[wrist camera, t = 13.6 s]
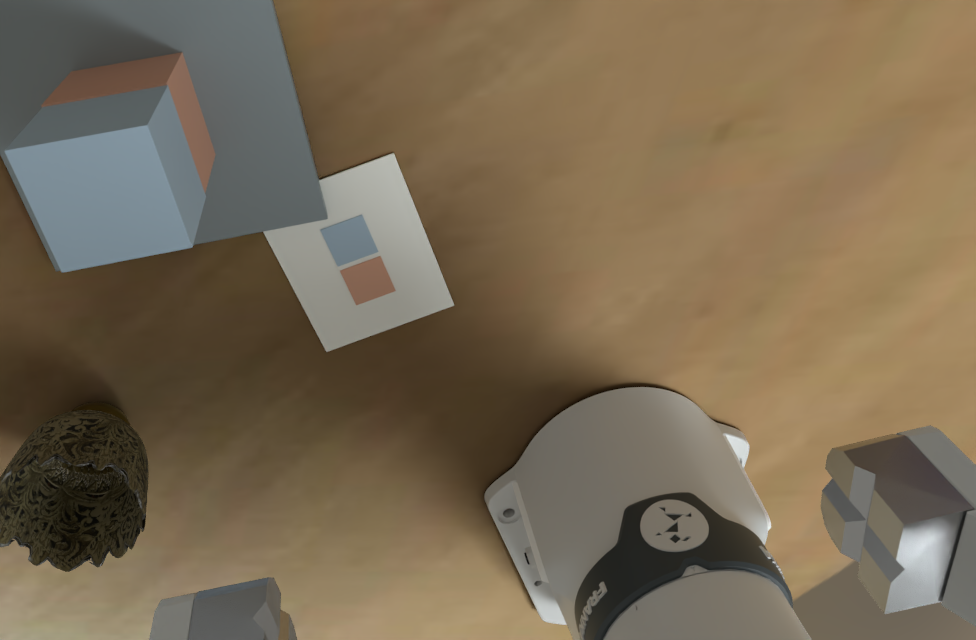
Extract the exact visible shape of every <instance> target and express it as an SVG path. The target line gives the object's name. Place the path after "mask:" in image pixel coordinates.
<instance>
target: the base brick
mask: <svg viewBox="0 0 976 640" xmlns="http://www.w3.org/2000/svg"><path fill="white" fill-rule="evenodd" d="M165 85H168V87H169V90H170V93H171V96H172V98H173V101H174V104H175V107H176V110H177V113H178V116H179V119H180V122H181V125H182V128H183V131H184V134H185V136H186V139H187V142H188V145H189V148H190V151H191V154H192V157H193V160H194V163H195V166H196V169H197V172H198V174H199V177H200V180H201V183H202V186H203V189H204V192H206V188H207V185H208V181H209V177H210V174H211V170H212V166H213V163H214V159H215V155H216V154H215V151H214V148H213V145H212V142H211V139H210V136H209V133H208V129H207V126H206V123H205V120H204V117H203V114H202V111H201V108H200V105H199V102H198V99H197V96H196V93H195V90H194V86H193V83H192V80H191V77H190V74H189V71H188V68H187V65H186V62H185V59H184V56H183V53H182V52H181V53H175V54H169V55H163V56H157V57H152V58H146V59H140V60H134V61H129V62H123V63H117V64H111V65H106V66H100V67H94V68H88V69H83V70H77V71H71V72H70V73H69V74H68V76H67V77H66V78H65V79H64V80H63V81H62V82H61V83H60V85H59V86H58V87H57V88H56V89H55V90H54V91H53V92H52V94H51V95H50V96H49V97H48V98H47V99H46V100H45V101H44V103H43V104H42V105H41V107H46V106H52V105H57V104H63V103H69V102H74V101H80V100H86V99H91V98H97V97H103V96H108V95H114V94H120V93H125V92H131V91H137V90H142V89H148V88H154V87H159V86H165Z"/></svg>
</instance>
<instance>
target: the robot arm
mask: <svg viewBox="0 0 976 640" xmlns="http://www.w3.org/2000/svg"><path fill="white" fill-rule="evenodd" d="M748 453H749V443H748V441H747V439H746V437H745V435H744V434H743V433H742V432H741V431H740V430H738V429H735V428H733V427H730V426H727V425H723V424H720V423H716V422H715V421H713V420H712V419H710V418H709V417H708V416H707V415H706V414H705V413H704V412H703V411H702V410H701V409H700V408H699V407H698V406H697V405H696V404H695V403H693V402H692V401H691V400H689V399H687V398H686V397H684V396H682V395H679V394H677V393H674V392H671V391H668V390H664V389H659V388H651V387H630V388H621V389H616V390H611V391H607V392H603V393H600V394H597V395H594V396H591V397H589V398H587V399H584V400H582V401H580V402H578V403H576V404H574V405H572V406H571V407H569V408H567V409H566V410H564V411H562V412H561V413H560V414H558V415H557V416H555V417H554V418H553V419H552V420H551V421H549V422H548V423H547V424H546V425H545V426H544V427H543V428H542V429H541V430H540V431H539V432H538V433H537V434H536V436H535V437H534V438H533V439H532V441H531V442H530V443H529V445H528V447H527V448H526V450H525V451H524V453H523V455H522V456H521V458H520V459H519V461H518V462H517V463H516V465H515V466H514V467H513V468H512V469H510V470H509V471H507V472H506V473H505V474H504V475H502V476H501V477H500V478H498V479H497V480H496V481H495V482H494V483H492V484H491V485H490V486H489V488H488V489H487V490H486V492H485V495H484V499H485V502H486V504H487V507H488V509H489V511H490V514H491V516H492V518H493V520H494V522H495V524H496V526H497V528H498V530H499V532H500V534H501V537H502V539H503V541H504V543H505V545H506V547H507V549H508V551H509V553H510V555H511V557H512V559H513V562H514V564H515V566H516V568H517V570H518V572H519V574H520V576H521V578H522V580H523V582H524V585H525V587H526V589H527V591H528V593H529V595H530V597H531V599H532V601H533V603H534V605H535V607H536V610H537V612H538V614H539V615H540V617H541V619H542V620H543V621H545V622H548V623H554V624H561V625H567V626H568V629H569V631H570V633H571V635H572V638H573V640H811V638H810V636H809V635H808V634H807V632H806V630H805V629H804V627H803V625H802V624H801V622H800V621H799V619H798V617H797V616H796V614H795V612H794V611H793V602H792V596H791V593H790V590H789V588H788V586H787V585H786V583H785V580H784V576H783V574H782V571H781V569H780V568H779V566H778V564H777V562H776V561H775V559H774V558H773V557H772V555H771V554H770V553H769V552H768V551H767V549H766V548H765V546H764V545H765V543H766V540H767V535H768V530H769V529H770V528H771V522H770V518H769V516H768V514H767V512H766V510H765V508H764V506H763V504H762V502H761V500H760V498H759V496H758V495H757V493H756V491H755V489H754V487H753V485H752V483H751V481H750V479H749V478H748V476H747V474H746V472H745V470H744V466H745V463H746V460H747V457H748ZM825 469H826V470H827V471H828V473H829V474H830V475H831V477H832V480H831V481H830V482H829V483H828V484H827V486H826V487H825V488H824V489H823V490H822V499H821V511H822V515H823V519H824V524H825V527H826V529H827V531H828V533H829V535H830V537H831V539H832V541H833V542H834V544H835V545H836V547H837V548H838V550H839V551H840V553H842V554H844V555H846V556H848V557H850V558H852V559H854V560H856V561H858V562H859V570H858V578H859V579H860V581H861V582H862V584H863V585H864V586H865V588H866V589H867V591H868V592H869V593H870V595H871V596H872V598H873V599H874V600H875V602H876V603H877V605H878V606H879V607H880V609H881V610H882V611H883V613H884V614H887V613H892V612H896V611H900V610H905V609H910V608H915V607H919V606H924V605H928V604H933V603H938V602H942V604H941V605H942V606H944V607H946V608H947V609H949V610H950V611H952V612H954V613H955V614H957V615H958V616H960V617H961V618H963V619H965V620H966V621H968V622H969V623H971V624H973V625H974V626H976V465H975V464H974V463H973V462H972V461H971V460H970V459H969V458H968V457H967V456H966V455H965V454H964V453H963V452H962V451H961V450H960V449H959V448H958V447H957V446H956V445H955V444H954V443H953V442H952V441H951V440H950V439H949V438H947V437H946V436H945V435H944V434H943V433H942V432H941V431H940V430H939V429H937V428H935V427H933V426H926V427H921V428H917V429H913V430H909V431H904V432H900V433H897V434H890V435H886V436H882V437H878V438H874V439H869V440H865V441H861V442H857V443H853V444H849V445H844V446H840V447H836V448H832V450H831V451H830V452H829V454H828V455H827V460H826V467H825ZM509 508H511V509H509ZM506 509H509V510H506ZM280 603H281V593H280V591H279V588H278V586H277V584H276V582H275V580H274V578H271V577H269V578H264V579H259V580H254V581H249V582H244V583H239V584H234V585H229V586H224V587H219V588H214V589H209V590H204V591H199V592H197V593H192V594H187V595H182V596H177V597H172V598H168V599H163V600H161V601H160V603H159V605H158V607H157V608H156V610H155V613H154V618H153V623H152V628H151V633H150V639H149V640H297V637H296V633H295V629H294V625H293V623H292V620H291V618H290V615H289V614H288V613H286V612H284V611H282V610H280Z"/></svg>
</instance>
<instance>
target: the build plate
mask: <svg viewBox="0 0 976 640" xmlns="http://www.w3.org/2000/svg"><path fill="white" fill-rule="evenodd" d="M181 52H182V53H183V56H184V59H185V62H186V65H187V68H188V71H189V74H190V77H191V80H192V83H193V86H194V90H195V93H196V96H197V99H198V102H199V105H200V108H201V111H202V114H203V117H204V120H205V123H206V126H207V129H208V133H209V136H210V139H211V142H212V145H213V148H214V151H215V154H216V155H215V159H214V163H213V166H212V170H211V174H210V177H209V181H208V185H207V188H206V192H205V195H206V199H205V202H204V206H203V210H202V214H201V217H200V221H199V225H198V229H197V232H196V236H195V240H194V244H193V245H196V244H201V243H206V242H212V241H217V240H222V239H227V238H232V237H238V236H243V235H248V234H253V233H258V232H264V231H269V230H274V229H279V228H284V227H289V226H295V225H300V224H305V223H310V222H315V221H321V220H326V219H328V213H327V209H326V205H325V202H324V198H323V194H322V190H321V186H320V182H319V178H318V174H317V170H316V166H315V162H314V158H313V154H312V150H311V146H310V143H309V139H308V135H307V131H306V127H305V123H304V119H303V115H302V111H301V108H300V104H299V100H298V96H297V92H296V88H295V84H294V80H293V76H292V73H291V69H290V65H289V61H288V57H287V53H286V49H285V45H284V41H283V38H282V34H281V30H280V26H279V22H278V18H277V14H276V10H275V6H274V2H273V0H0V155H1V157H2V159H3V161H4V163H5V166H6V168H7V170H8V172H9V174H10V176H11V178H12V180H13V182H14V184H15V186H16V189H17V191H18V193H19V195H20V197H21V199H22V201H23V203H24V205H25V207H26V210H27V212H28V214H29V216H30V218H31V220H32V222H33V224H34V226H35V228H36V230H37V233H38V235H39V237H40V239H41V241H42V243H43V245H44V247H45V249H46V251H47V253H48V256H49V258H50V260H51V262H52V264H53V266H54V268H55V270H56V271H61V270H60V268H59V265H58V263H57V261H56V259H55V257H54V255H53V253H52V251H51V249H50V246H49V244H48V242H47V240H46V238H45V236H44V234H43V232H42V230H41V227H40V225H39V223H38V221H37V219H36V217H35V215H34V213H33V211H32V208H31V206H30V204H29V202H28V200H27V198H26V196H25V194H24V192H23V189H22V187H21V185H20V183H19V181H18V179H17V177H16V175H15V173H14V170H13V168H12V166H11V164H10V162H9V160H8V158H7V156H6V154H5V149H6V148H7V147H8V146H9V145H10V144H11V143H12V141H13V140H14V139H15V138H16V137H17V136H18V135H19V133H20V132H21V131H22V130H23V129H24V128H25V127H26V126H27V124H28V123H29V122H30V121H31V120H32V119H33V118H34V116H35V115H36V114H37V113H38V112H39V111H40V110H41V109H42V107H41V105H42V104H43V103H44V101H45V100H46V99H47V98H48V97H49V96H50V95H51V94H52V92H53V91H54V90H55V89H56V88H57V87H58V86H59V85H60V83H61V82H62V81H63V80H64V79H65V78H66V77H67V76H68V74H69V73H70V72H71V71H77V70H83V69H88V68H94V67H100V66H106V65H111V64H117V63H123V62H129V61H134V60H140V59H146V58H152V57H157V56H163V55H169V54H175V53H181Z"/></svg>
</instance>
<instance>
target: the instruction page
mask: <svg viewBox="0 0 976 640" xmlns="http://www.w3.org/2000/svg"><path fill="white" fill-rule="evenodd" d="M319 182H320V186H321V190H322V194H323V198H324V202H325V205H326V209H327V213H328V219H326V220H321V221H315V222H310V223H305V224H300V225H295V226H289V227H284V228H279V229H274V230H269V231H264V232H263V233H264V235H265V237H266V238H267V240H268V242H269V244H270V246H271V248H272V250H273V252H274V254H275V256H276V257H277V259H278V261H279V263H280V265H281V267H282V269H283V271H284V273H285V274H286V276H287V278H288V280H289V282H290V284H291V286H292V288H293V290H294V292H295V293H296V295H297V297H298V299H299V301H300V303H301V305H302V307H303V309H304V310H305V312H306V314H307V316H308V318H309V320H310V322H311V324H312V326H313V328H314V329H315V331H316V333H317V335H318V337H319V339H320V341H321V343H322V345H323V346H324V348H325V350H326V352H328V351H331V350H334V349H337V348H339V347H342V346H345V345H347V344H350V343H353V342H356V341H358V340H361V339H364V338H367V337H369V336H372V335H375V334H378V333H380V332H383V331H386V330H389V329H391V328H394V327H397V326H400V325H402V324H405V323H408V322H411V321H413V320H416V319H419V318H422V317H424V316H427V315H430V314H433V313H435V312H438V311H441V310H444V309H446V308H449V307H452V306H454V303H453V300H452V298H451V295H450V293H449V290H448V288H447V285H446V283H445V280H444V278H443V275H442V273H441V270H440V268H439V265H438V263H437V260H436V258H435V255H434V253H433V250H432V248H431V245H430V243H429V240H428V238H427V235H426V233H425V230H424V228H423V225H422V223H421V220H420V218H419V215H418V213H417V210H416V208H415V205H414V203H413V200H412V198H411V195H410V193H409V190H408V188H407V185H406V182H405V180H404V177H403V175H402V172H401V170H400V167H399V165H398V162H397V160H396V157H395V155H394V153H391V154H388V155H386V156H383V157H380V158H377V159H375V160H372V161H369V162H367V163H364V164H361V165H358V166H356V167H353V168H350V169H348V170H345V171H342V172H339V173H337V174H334V175H331V176H329V177H326V178H323V179H320V180H319Z"/></svg>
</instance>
